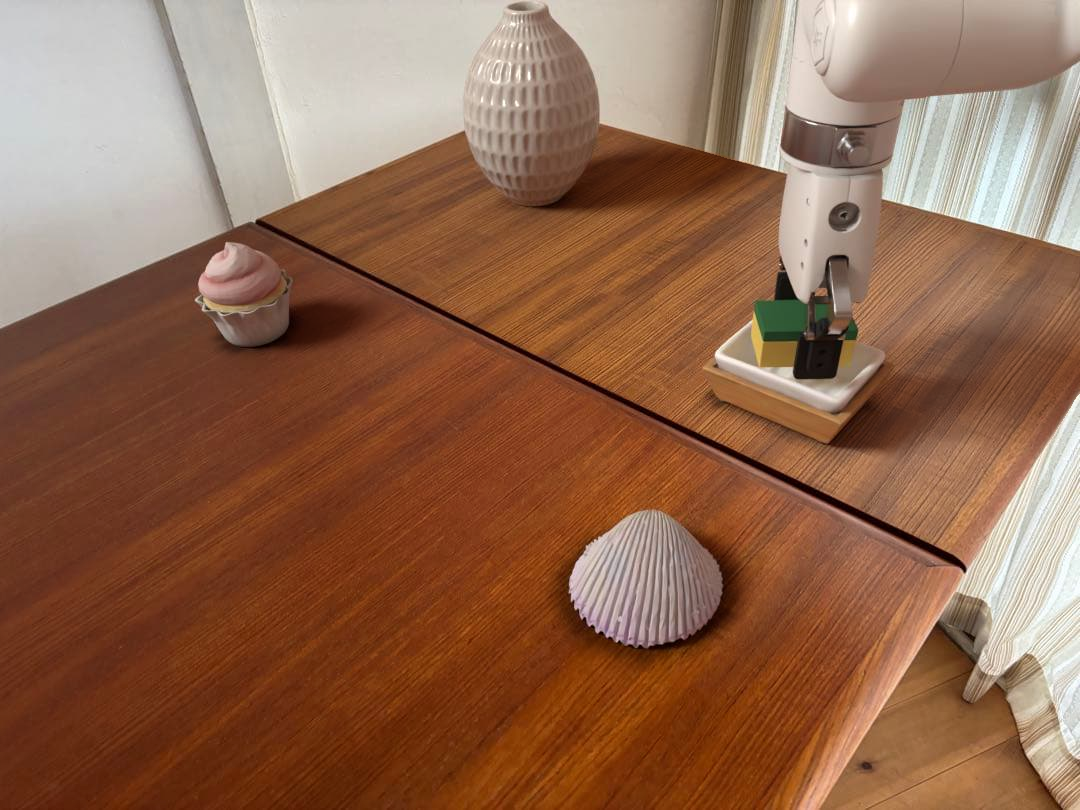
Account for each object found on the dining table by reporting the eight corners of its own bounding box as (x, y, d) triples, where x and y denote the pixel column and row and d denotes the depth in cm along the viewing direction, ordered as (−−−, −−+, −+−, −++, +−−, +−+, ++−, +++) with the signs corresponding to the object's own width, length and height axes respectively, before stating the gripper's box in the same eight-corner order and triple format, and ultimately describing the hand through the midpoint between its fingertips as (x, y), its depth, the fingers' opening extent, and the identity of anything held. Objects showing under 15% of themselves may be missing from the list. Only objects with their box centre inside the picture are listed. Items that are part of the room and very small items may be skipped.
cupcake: (206, 318, 88) (176, 230, 81) (297, 298, 90) (274, 211, 84) (211, 367, 81) (178, 275, 74) (309, 344, 83) (285, 253, 77)
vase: (465, 225, 101) (443, 29, 87) (478, 170, 114) (460, -9, 100) (601, 222, 100) (600, 22, 87) (598, 167, 113) (598, -15, 99)
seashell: (726, 500, 59) (731, 590, 50) (718, 564, 62) (722, 660, 53) (581, 486, 61) (561, 571, 52) (578, 549, 63) (559, 641, 54)
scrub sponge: (837, 334, 71) (844, 298, 69) (850, 366, 67) (859, 329, 65) (750, 335, 71) (754, 300, 69) (759, 367, 68) (764, 331, 66)
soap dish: (887, 399, 72) (899, 350, 69) (834, 460, 66) (845, 410, 63) (756, 349, 79) (762, 302, 75) (698, 401, 73) (702, 352, 70)
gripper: (935, 185, 51) (878, 410, 62) (861, 90, 64) (825, 288, 75) (808, 188, 51) (773, 412, 62) (762, 93, 65) (739, 290, 76)
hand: (802, 343), depth 69 cm, fingers open, 8 cm apart
